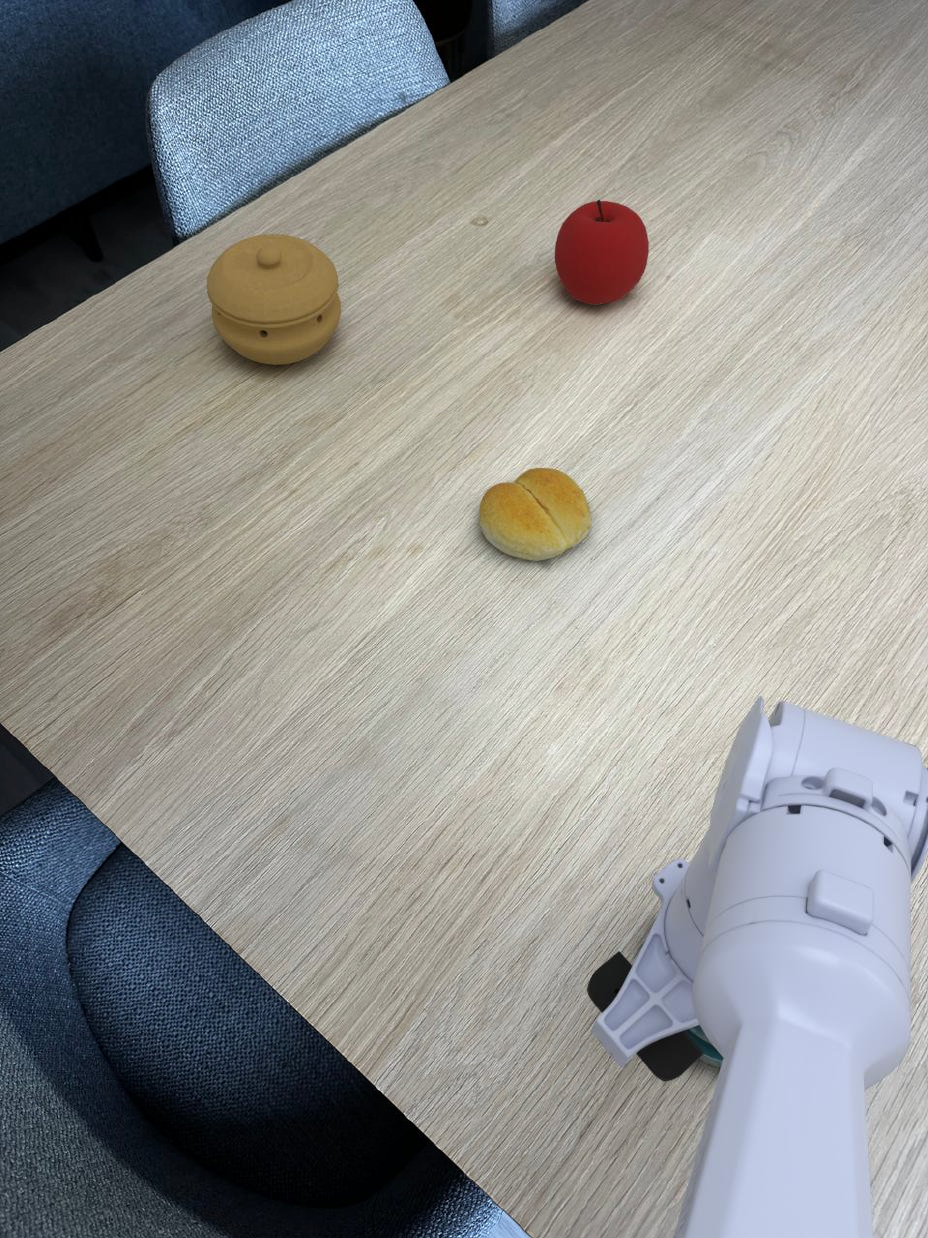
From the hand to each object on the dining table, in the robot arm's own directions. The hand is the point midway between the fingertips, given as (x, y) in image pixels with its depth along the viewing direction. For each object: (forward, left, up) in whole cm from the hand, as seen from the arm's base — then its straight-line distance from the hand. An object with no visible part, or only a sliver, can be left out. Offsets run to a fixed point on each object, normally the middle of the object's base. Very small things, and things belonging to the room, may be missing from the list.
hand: (686, 992), depth 54 cm
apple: (+71, -8, -10) cm, 72 cm away
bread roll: (+41, +2, -10) cm, 42 cm away
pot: (+65, +23, -10) cm, 70 cm away
